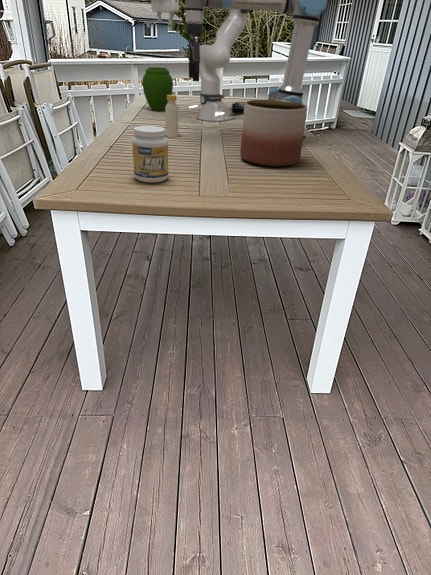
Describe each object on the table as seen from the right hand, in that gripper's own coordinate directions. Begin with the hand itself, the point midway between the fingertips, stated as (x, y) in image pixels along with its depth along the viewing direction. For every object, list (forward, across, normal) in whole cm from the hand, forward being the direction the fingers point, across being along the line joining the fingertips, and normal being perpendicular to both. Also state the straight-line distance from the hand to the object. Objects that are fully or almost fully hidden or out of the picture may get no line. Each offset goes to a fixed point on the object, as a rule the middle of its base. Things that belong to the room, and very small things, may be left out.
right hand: (193, 79), depth 183 cm
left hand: (-21, -45, -9) cm, 51 cm away
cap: (+9, -13, -9) cm, 18 cm away
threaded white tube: (+27, -13, -9) cm, 31 cm away
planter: (+27, +34, +28) cm, 52 cm away
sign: (+27, -95, +49) cm, 110 cm away
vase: (+27, -87, -11) cm, 92 cm away
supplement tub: (+27, +57, -23) cm, 67 cm away
